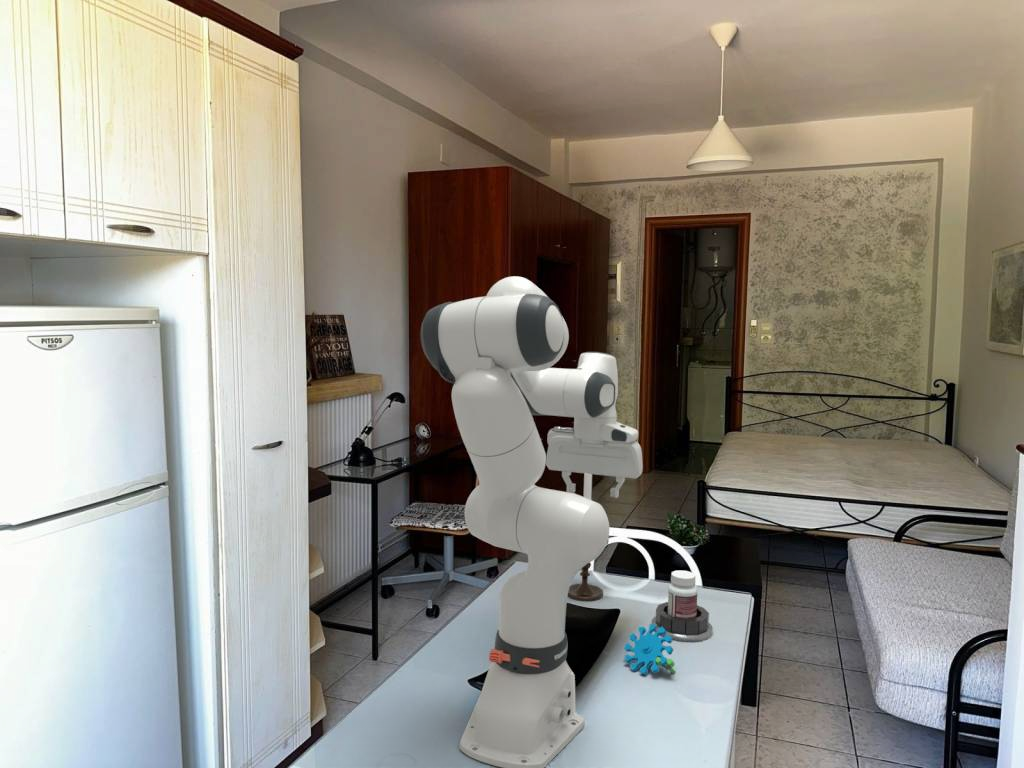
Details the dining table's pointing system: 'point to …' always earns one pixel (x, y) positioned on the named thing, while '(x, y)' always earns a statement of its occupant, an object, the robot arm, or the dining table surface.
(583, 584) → the candlestick
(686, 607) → the pill bottle
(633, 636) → the gear
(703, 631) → the notched hollow ring
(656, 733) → the dining table surface
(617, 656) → the dining table surface
